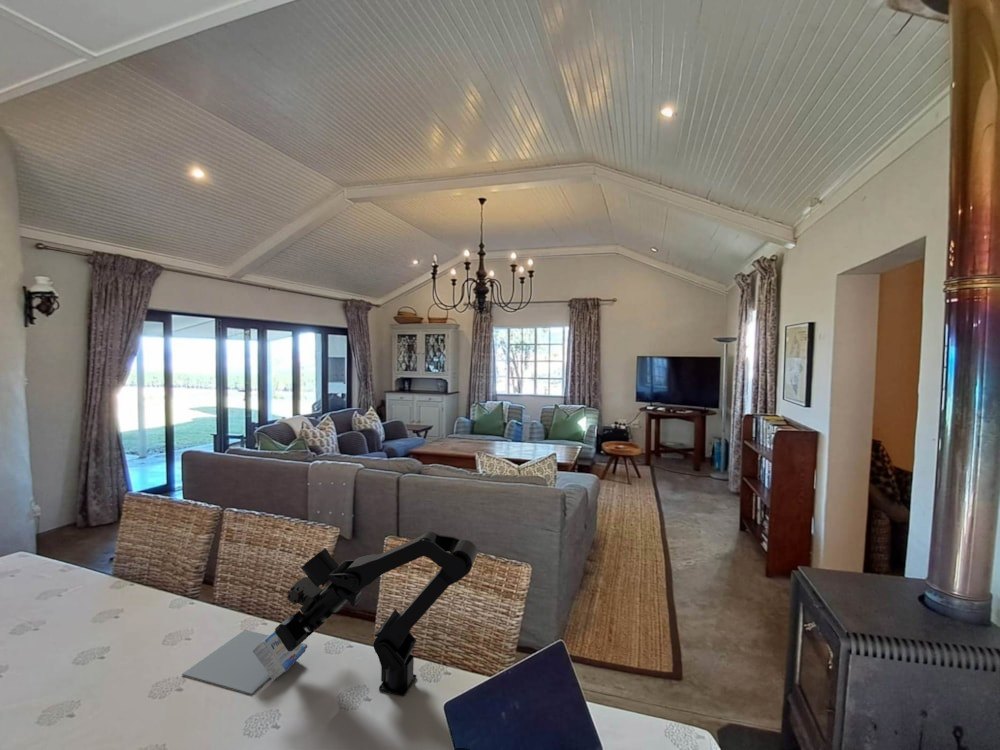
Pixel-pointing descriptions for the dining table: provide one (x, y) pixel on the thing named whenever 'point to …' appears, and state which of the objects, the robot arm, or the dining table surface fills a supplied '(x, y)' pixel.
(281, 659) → the medicine box
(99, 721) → the dining table surface
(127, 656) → the dining table surface
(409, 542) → the robot arm
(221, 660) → the mat
